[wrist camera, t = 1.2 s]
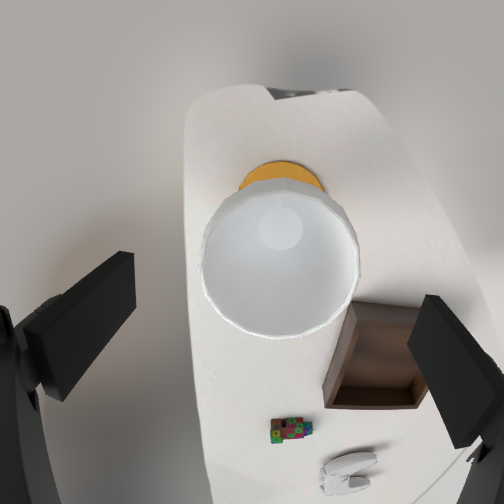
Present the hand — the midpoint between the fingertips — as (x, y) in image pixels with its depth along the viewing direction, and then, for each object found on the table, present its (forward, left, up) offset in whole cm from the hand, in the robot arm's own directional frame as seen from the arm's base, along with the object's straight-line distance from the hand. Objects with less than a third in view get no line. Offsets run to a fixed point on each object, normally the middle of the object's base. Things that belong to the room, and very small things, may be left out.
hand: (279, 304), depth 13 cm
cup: (0, 0, -19) cm, 19 cm away
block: (+32, +7, -19) cm, 38 cm away
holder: (+16, +16, -19) cm, 29 cm away
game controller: (+45, +20, -19) cm, 53 cm away
